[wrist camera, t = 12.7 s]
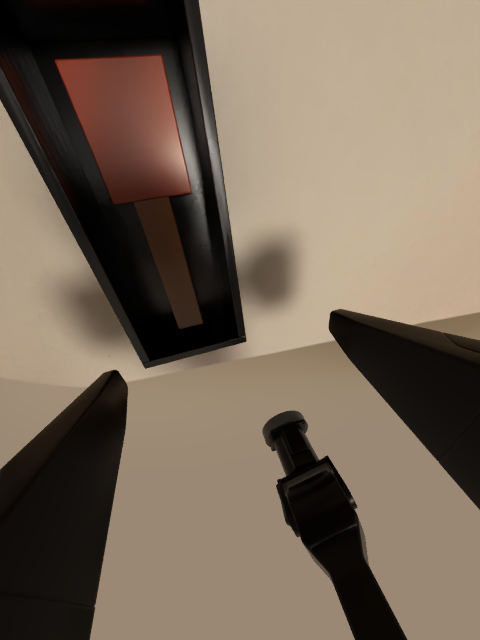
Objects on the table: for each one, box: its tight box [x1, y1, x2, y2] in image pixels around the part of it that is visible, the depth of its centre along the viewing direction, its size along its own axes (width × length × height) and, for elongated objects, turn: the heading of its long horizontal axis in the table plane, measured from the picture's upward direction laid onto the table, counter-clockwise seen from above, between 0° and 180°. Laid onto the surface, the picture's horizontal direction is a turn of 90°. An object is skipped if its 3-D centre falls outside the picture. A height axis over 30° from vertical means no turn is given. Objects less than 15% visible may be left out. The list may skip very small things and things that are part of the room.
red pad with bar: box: [55, 54, 203, 329], centre depth 13 cm, size 5×15×2 cm, turn 8°
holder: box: [0, 0, 246, 369], centre depth 13 cm, size 18×8×4 cm, turn 7°
